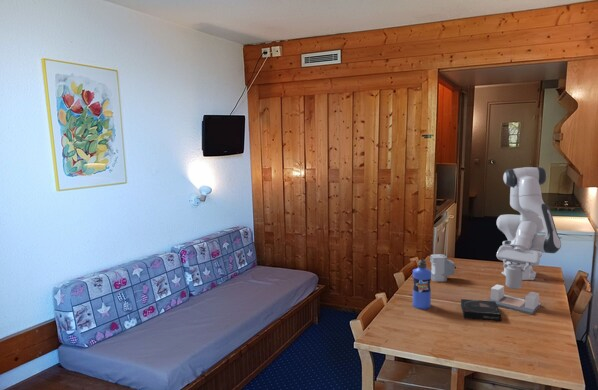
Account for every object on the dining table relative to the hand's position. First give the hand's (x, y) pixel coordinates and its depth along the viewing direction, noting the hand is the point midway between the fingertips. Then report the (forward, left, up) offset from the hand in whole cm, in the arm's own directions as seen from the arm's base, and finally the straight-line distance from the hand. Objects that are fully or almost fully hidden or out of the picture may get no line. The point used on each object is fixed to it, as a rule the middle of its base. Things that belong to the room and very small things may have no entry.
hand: (513, 269), depth 215 cm
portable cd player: (+21, -8, -20) cm, 30 cm away
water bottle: (+32, -34, -19) cm, 51 cm away
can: (-1, 0, -10) cm, 10 cm away
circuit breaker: (-14, -45, -19) cm, 51 cm away
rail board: (-1, 0, -19) cm, 19 cm away
